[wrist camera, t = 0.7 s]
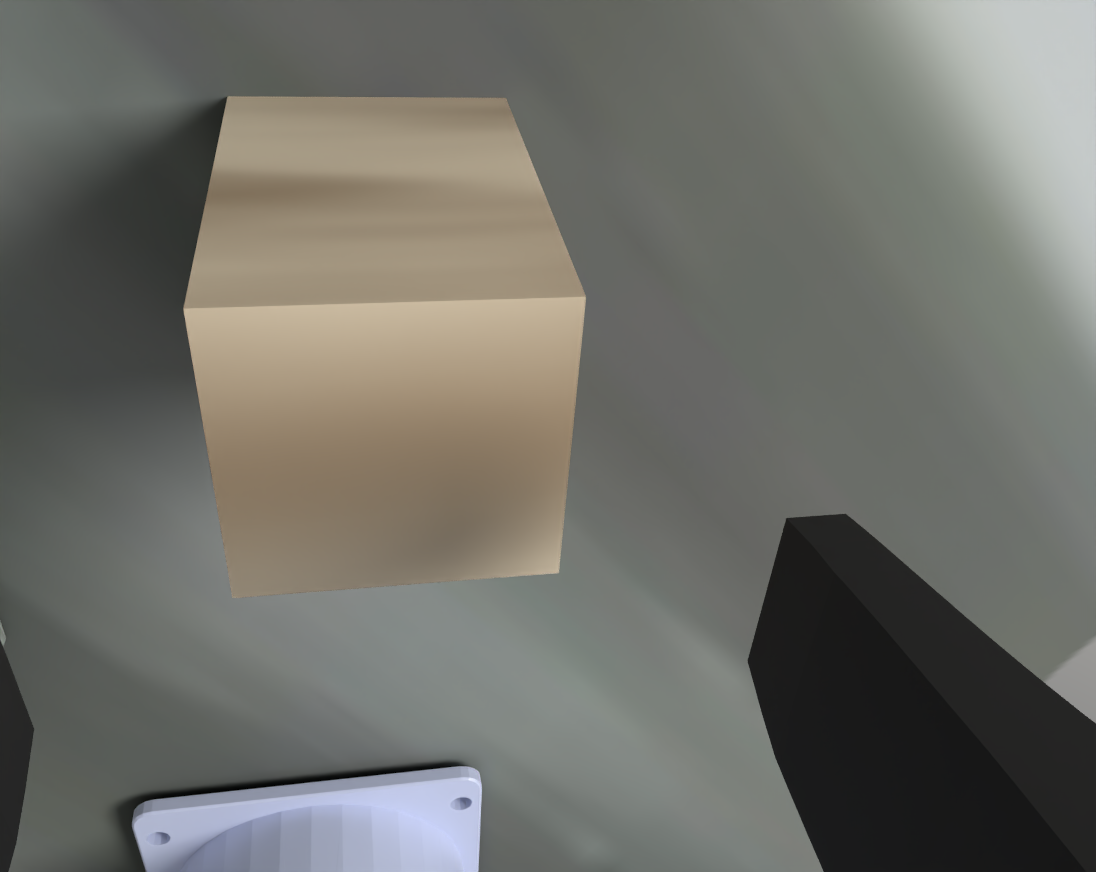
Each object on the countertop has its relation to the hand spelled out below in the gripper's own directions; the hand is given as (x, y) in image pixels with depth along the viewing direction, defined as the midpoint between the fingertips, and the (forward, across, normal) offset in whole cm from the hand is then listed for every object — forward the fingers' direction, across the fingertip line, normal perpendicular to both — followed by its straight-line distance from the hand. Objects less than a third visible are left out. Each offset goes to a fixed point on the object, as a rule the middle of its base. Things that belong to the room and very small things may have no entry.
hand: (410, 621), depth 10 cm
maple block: (+8, 0, 0) cm, 8 cm away
